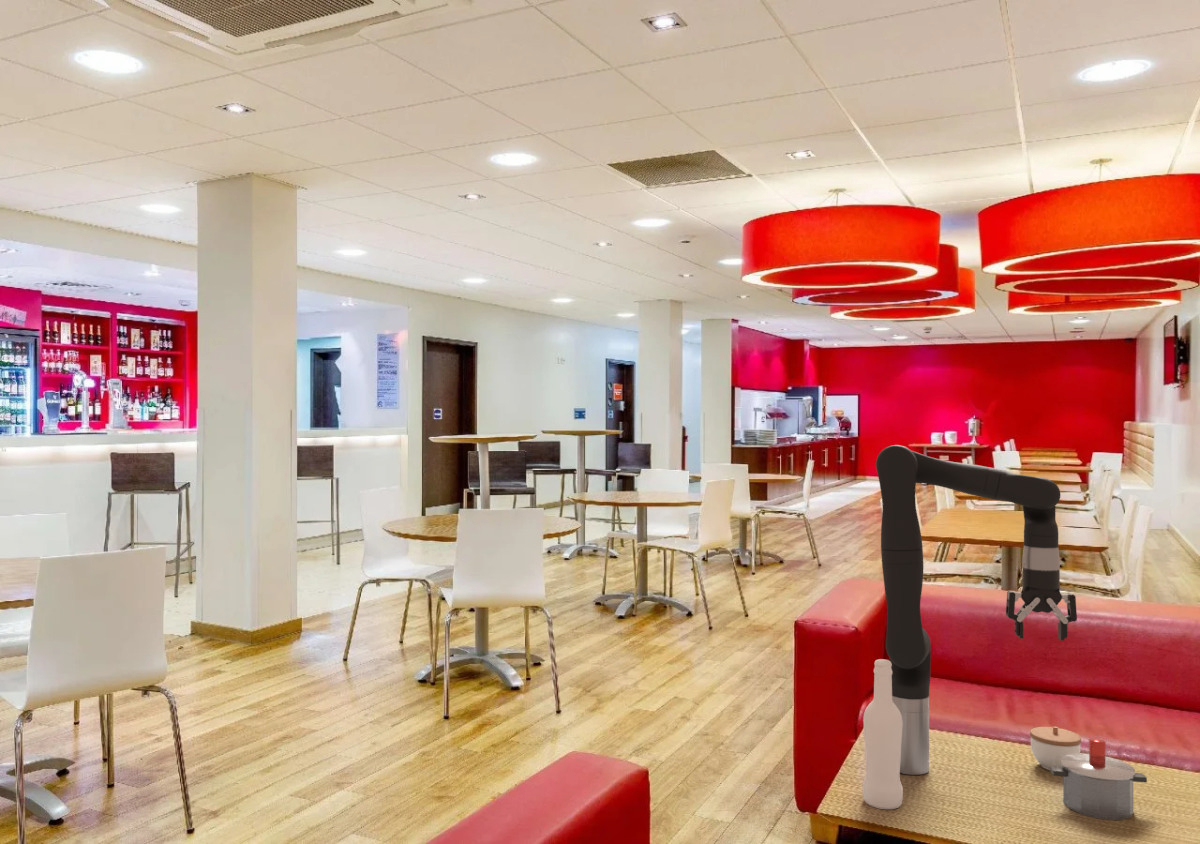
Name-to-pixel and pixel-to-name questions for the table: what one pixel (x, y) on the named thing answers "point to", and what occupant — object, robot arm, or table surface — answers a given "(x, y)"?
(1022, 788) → the table surface
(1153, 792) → the table surface
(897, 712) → the bottle
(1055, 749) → the lidded jar
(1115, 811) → the pot
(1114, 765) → the lid
